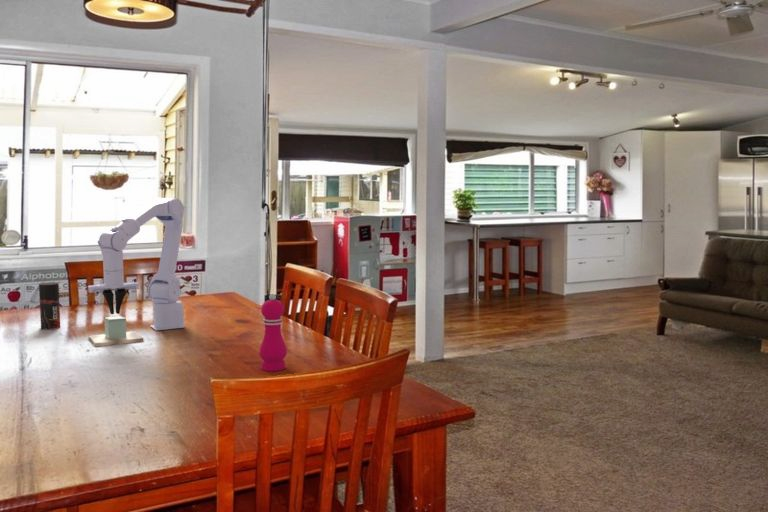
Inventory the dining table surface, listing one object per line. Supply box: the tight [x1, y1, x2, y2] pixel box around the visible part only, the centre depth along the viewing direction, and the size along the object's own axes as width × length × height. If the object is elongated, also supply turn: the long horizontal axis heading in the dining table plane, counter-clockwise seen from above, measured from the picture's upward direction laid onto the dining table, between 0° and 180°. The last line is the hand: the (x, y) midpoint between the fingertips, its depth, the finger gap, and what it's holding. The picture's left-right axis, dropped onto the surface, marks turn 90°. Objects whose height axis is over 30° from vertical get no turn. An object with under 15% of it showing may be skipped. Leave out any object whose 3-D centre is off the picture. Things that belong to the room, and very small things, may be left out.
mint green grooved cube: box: [103, 315, 127, 339], centre depth 213 cm, size 5×5×6 cm
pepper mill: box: [258, 293, 288, 372], centre depth 180 cm, size 7×7×20 cm
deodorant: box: [38, 282, 61, 330], centre depth 230 cm, size 6×6×15 cm
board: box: [87, 330, 144, 347], centre depth 213 cm, size 14×12×6 cm
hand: (114, 313), depth 212 cm, fingers closed
